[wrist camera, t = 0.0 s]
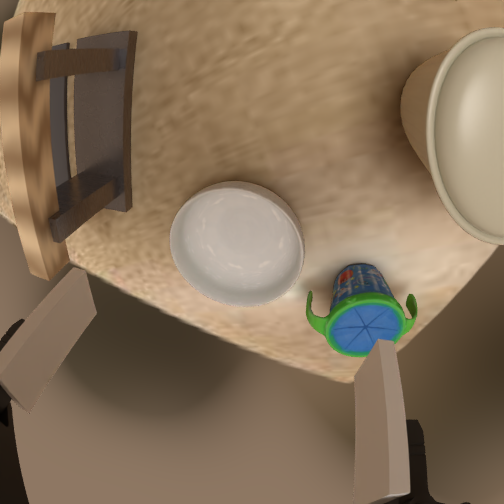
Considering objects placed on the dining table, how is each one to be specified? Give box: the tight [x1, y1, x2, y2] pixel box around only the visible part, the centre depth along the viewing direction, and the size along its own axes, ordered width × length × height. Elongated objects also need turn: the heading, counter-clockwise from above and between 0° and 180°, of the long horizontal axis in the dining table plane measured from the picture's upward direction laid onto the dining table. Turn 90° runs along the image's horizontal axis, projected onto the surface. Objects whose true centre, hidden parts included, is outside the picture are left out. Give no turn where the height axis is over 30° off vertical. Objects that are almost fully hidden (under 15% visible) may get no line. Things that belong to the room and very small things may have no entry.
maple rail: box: [0, 12, 70, 281], centre depth 24 cm, size 30×4×4 cm, turn 172°
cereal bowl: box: [170, 181, 305, 307], centre depth 39 cm, size 17×17×7 cm
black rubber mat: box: [50, 43, 71, 187], centre depth 38 cm, size 28×10×1 cm, turn 172°
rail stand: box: [36, 31, 137, 243], centre depth 30 cm, size 26×9×16 cm, turn 172°
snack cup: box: [306, 264, 417, 357], centre depth 39 cm, size 16×10×10 cm
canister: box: [400, 27, 504, 245], centre depth 19 cm, size 18×18×21 cm
